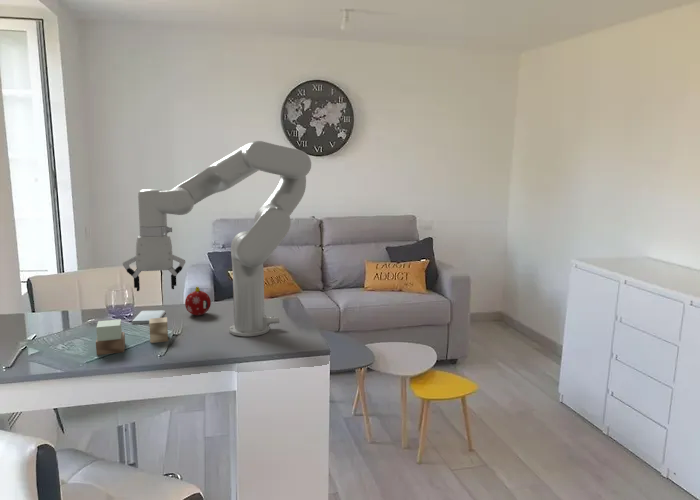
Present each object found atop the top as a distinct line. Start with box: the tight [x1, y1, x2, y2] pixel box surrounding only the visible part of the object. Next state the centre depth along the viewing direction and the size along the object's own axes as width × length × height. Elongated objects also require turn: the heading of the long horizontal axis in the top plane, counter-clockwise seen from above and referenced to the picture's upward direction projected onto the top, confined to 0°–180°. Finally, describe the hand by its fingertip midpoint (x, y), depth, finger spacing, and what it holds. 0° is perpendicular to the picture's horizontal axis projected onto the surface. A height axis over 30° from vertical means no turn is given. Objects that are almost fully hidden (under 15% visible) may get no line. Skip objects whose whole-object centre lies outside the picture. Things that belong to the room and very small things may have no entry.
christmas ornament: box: [184, 286, 212, 316], centre depth 188 cm, size 9×9×10 cm
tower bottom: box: [95, 331, 126, 356], centre depth 154 cm, size 7×7×4 cm
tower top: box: [95, 318, 123, 341], centre depth 154 cm, size 6×6×4 cm
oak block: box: [148, 316, 169, 344], centre depth 163 cm, size 5×5×6 cm
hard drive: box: [131, 309, 166, 325], centre depth 185 cm, size 2×8×12 cm
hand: (155, 289), depth 161 cm, fingers open, 9 cm apart
